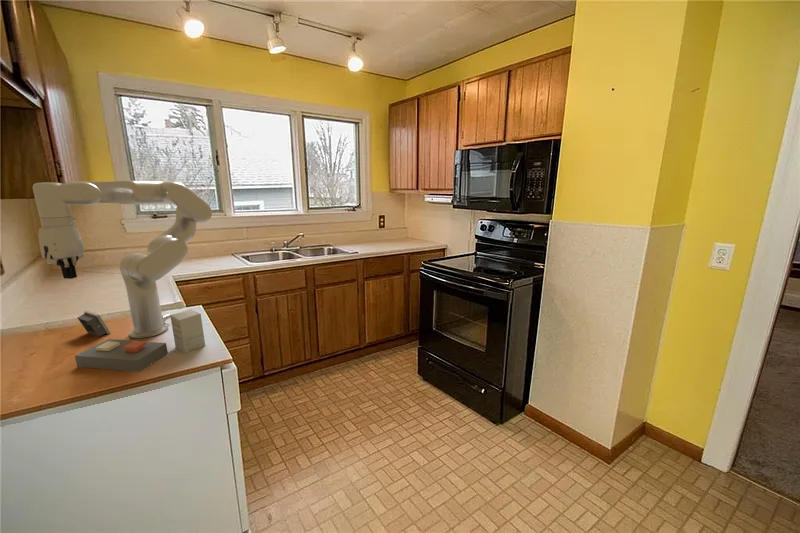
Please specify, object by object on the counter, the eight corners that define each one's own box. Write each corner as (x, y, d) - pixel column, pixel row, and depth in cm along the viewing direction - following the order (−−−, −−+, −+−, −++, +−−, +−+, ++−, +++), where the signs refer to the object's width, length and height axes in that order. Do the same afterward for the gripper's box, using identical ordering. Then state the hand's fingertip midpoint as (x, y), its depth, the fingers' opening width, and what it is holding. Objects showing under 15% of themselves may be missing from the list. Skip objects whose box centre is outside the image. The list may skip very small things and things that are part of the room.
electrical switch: (111, 333, 137) (104, 312, 134) (96, 340, 132) (88, 318, 129) (98, 329, 141) (90, 308, 138) (82, 335, 136) (74, 314, 133)
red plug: (136, 351, 119) (134, 340, 118) (148, 352, 119) (146, 341, 118) (125, 357, 115) (122, 346, 114) (137, 358, 115) (135, 347, 114)
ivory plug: (110, 352, 121) (108, 341, 120) (121, 352, 120) (119, 342, 119) (98, 358, 116) (95, 347, 115) (110, 359, 116) (107, 348, 115)
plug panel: (110, 349, 125) (108, 338, 124) (167, 353, 123) (166, 342, 122) (77, 366, 113) (74, 355, 112) (139, 371, 111) (137, 360, 110)
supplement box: (195, 339, 133) (191, 308, 130) (205, 345, 129) (201, 313, 126) (174, 347, 127) (169, 314, 124) (184, 353, 123) (179, 319, 120)
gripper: (71, 219, 119) (82, 271, 123) (20, 225, 104) (35, 284, 109) (91, 219, 118) (101, 272, 123) (42, 226, 104) (56, 285, 108)
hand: (70, 277), depth 116 cm, fingers closed
